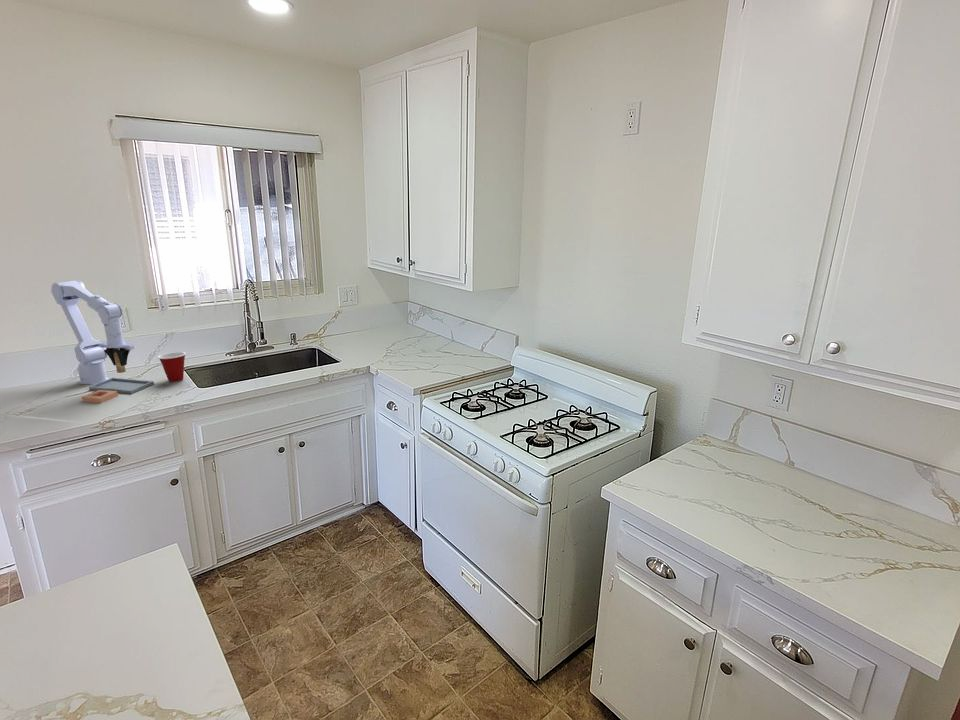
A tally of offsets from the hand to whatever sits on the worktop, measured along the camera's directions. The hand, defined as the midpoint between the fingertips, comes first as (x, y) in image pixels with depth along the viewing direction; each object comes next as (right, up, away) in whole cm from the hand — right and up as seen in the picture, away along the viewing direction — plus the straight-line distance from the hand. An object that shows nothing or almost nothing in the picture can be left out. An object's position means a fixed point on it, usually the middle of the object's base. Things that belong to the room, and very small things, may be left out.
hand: (120, 365), depth 219 cm
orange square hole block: (-1, -14, -9) cm, 17 cm away
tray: (-1, -10, +3) cm, 10 cm away
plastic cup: (+15, -7, +14) cm, 22 cm away
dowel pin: (0, -3, +1) cm, 3 cm away
